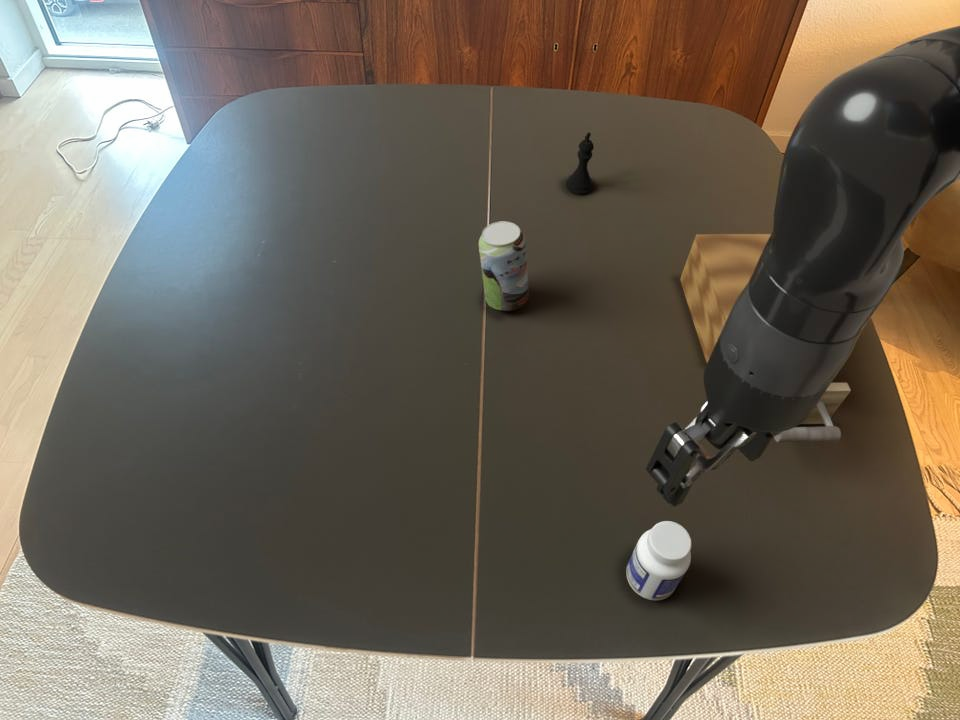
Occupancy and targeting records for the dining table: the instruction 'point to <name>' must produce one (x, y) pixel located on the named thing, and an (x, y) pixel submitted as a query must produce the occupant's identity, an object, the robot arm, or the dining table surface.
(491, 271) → the beverage can
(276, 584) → the dining table surface
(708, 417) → the robot arm
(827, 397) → the drawer
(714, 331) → the cabinet
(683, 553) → the pill bottle
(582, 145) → the chess piece
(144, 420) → the dining table surface
